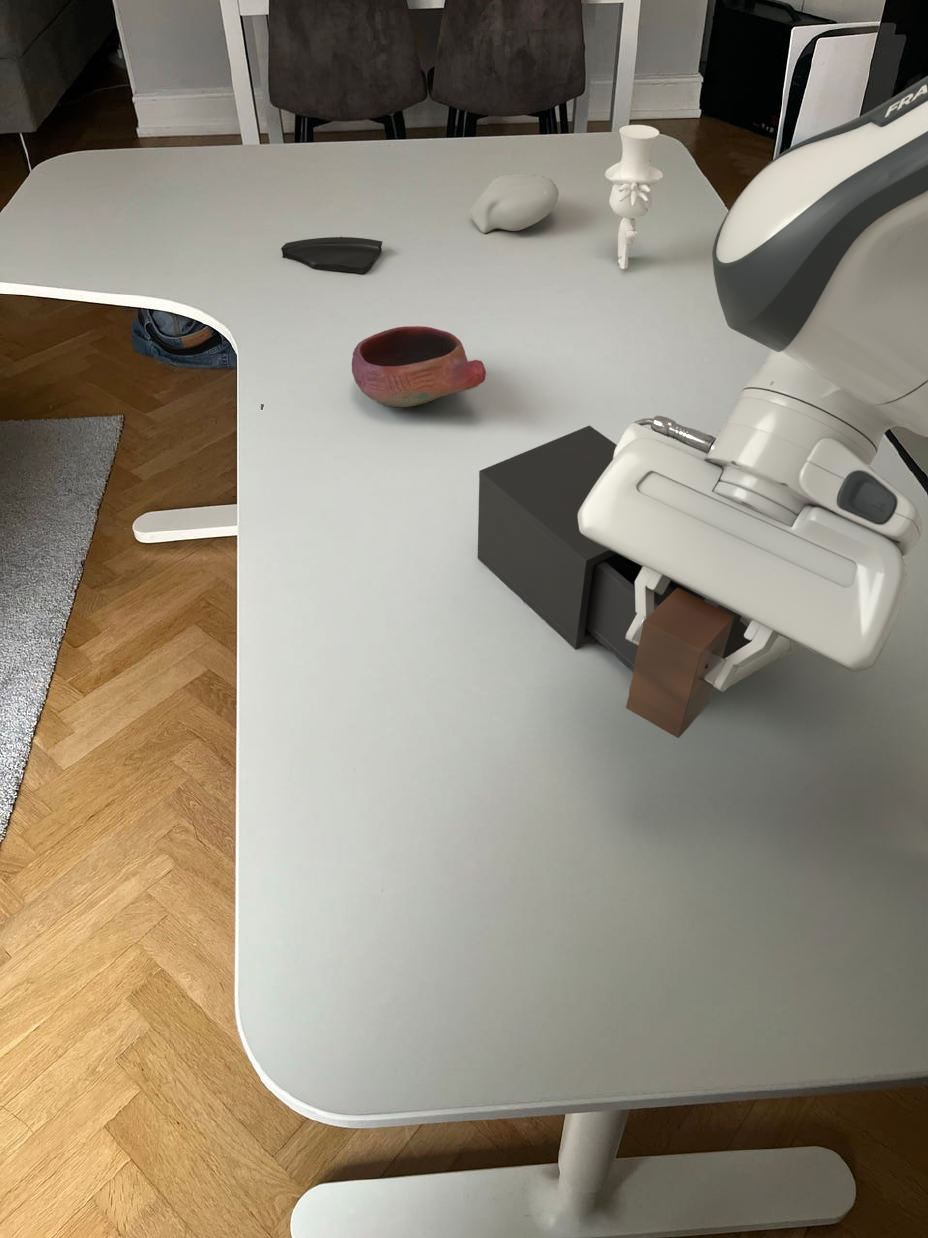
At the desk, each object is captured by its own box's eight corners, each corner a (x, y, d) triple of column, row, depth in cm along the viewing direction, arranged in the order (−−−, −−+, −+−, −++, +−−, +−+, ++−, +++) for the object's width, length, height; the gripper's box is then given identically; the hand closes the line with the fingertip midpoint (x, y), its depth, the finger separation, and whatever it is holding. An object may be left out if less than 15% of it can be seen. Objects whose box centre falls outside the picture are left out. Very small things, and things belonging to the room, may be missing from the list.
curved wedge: (298, 240, 146) (296, 229, 145) (385, 251, 144) (384, 240, 143) (275, 263, 141) (273, 252, 139) (365, 276, 138) (364, 264, 137)
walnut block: (709, 702, 66) (734, 615, 60) (678, 739, 63) (701, 652, 58) (657, 674, 67) (677, 586, 62) (625, 708, 65) (643, 621, 59)
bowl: (341, 422, 112) (335, 358, 106) (367, 364, 121) (363, 303, 115) (482, 436, 110) (483, 372, 105) (498, 376, 119) (500, 315, 114)
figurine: (652, 283, 137) (672, 146, 124) (596, 281, 137) (611, 144, 125) (647, 250, 145) (665, 118, 132) (594, 248, 145) (608, 116, 132)
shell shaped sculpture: (562, 210, 155) (565, 167, 150) (548, 244, 146) (551, 199, 141) (481, 202, 157) (481, 159, 152) (462, 234, 148) (462, 190, 143)
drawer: (794, 680, 83) (820, 608, 77) (694, 742, 78) (714, 670, 72) (646, 562, 94) (659, 490, 88) (550, 610, 89) (556, 538, 83)
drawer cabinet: (682, 593, 92) (701, 504, 85) (575, 649, 87) (586, 560, 80) (579, 511, 101) (589, 425, 93) (477, 558, 95) (479, 470, 88)
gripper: (624, 389, 62) (521, 584, 64) (946, 522, 53) (818, 746, 55) (651, 420, 68) (556, 598, 69) (946, 545, 59) (830, 748, 60)
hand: (674, 665), depth 62 cm, fingers closed on walnut block, 4 cm apart
